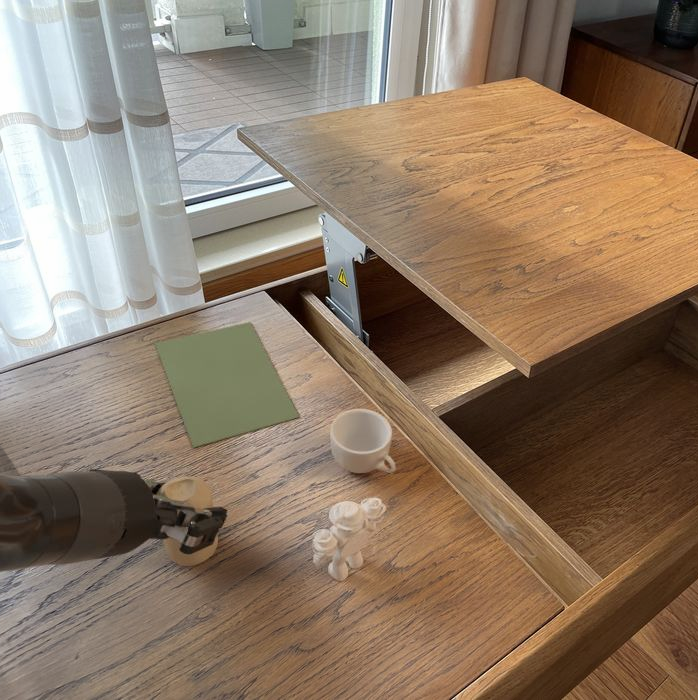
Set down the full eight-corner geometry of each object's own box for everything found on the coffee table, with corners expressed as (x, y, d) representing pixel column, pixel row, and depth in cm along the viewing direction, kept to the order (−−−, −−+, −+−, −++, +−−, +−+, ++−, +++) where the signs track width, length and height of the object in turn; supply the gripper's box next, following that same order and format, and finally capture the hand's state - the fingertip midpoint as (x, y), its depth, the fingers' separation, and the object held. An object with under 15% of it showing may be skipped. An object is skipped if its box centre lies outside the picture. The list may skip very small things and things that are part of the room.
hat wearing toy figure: (324, 602, 77) (324, 537, 70) (303, 577, 79) (301, 511, 72) (388, 555, 83) (395, 490, 75) (367, 533, 85) (371, 467, 77)
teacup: (317, 457, 92) (317, 428, 89) (361, 427, 97) (362, 399, 94) (370, 502, 88) (372, 474, 85) (413, 469, 93) (417, 441, 89)
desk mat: (193, 448, 91) (193, 447, 91) (155, 344, 105) (155, 343, 105) (299, 417, 97) (299, 416, 97) (250, 323, 111) (250, 322, 111)
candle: (205, 516, 82) (195, 459, 76) (227, 550, 79) (218, 494, 73) (157, 539, 79) (143, 482, 73) (178, 575, 76) (165, 519, 70)
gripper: (4, 519, 63) (133, 508, 79) (130, 595, 59) (238, 567, 75) (42, 441, 63) (162, 445, 79) (168, 511, 59) (267, 501, 76)
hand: (198, 505), depth 77 cm, fingers closed on candle, 5 cm apart
